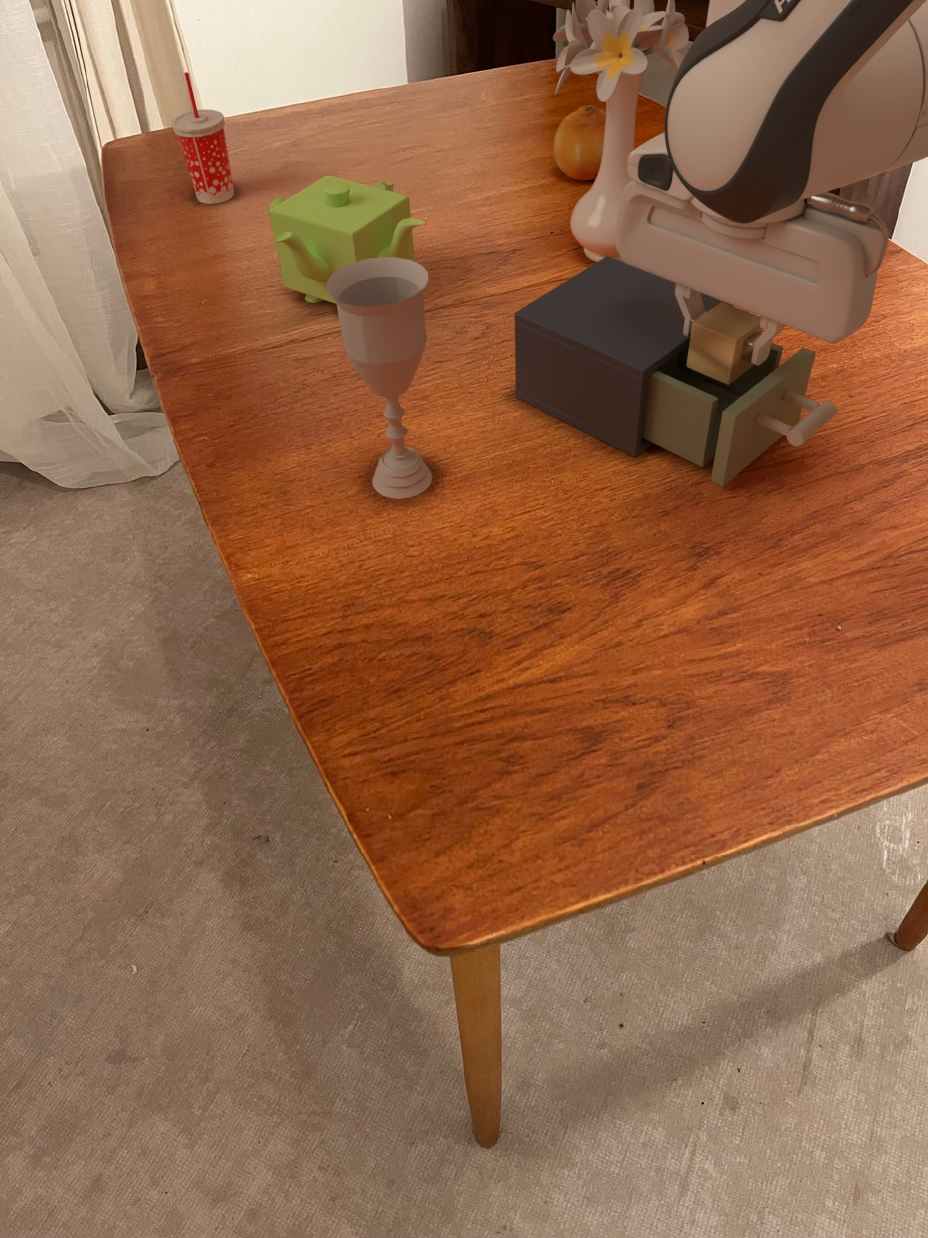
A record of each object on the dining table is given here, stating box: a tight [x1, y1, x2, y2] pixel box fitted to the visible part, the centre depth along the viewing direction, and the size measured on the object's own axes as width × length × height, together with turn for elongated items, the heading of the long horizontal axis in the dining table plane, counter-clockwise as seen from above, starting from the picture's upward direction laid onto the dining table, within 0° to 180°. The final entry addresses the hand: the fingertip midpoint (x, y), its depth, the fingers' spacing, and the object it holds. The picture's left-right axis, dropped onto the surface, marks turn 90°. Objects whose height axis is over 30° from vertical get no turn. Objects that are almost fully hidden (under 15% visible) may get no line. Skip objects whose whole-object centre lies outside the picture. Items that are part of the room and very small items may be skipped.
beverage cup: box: [171, 71, 235, 205], centre depth 116 cm, size 6×6×14 cm
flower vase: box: [552, 0, 690, 263], centre depth 98 cm, size 13×18×25 cm
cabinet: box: [514, 256, 733, 458], centre depth 86 cm, size 14×13×9 cm
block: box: [686, 302, 764, 385], centre depth 77 cm, size 4×4×4 cm
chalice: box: [327, 257, 433, 500], centre depth 76 cm, size 7×7×18 cm
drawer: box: [642, 342, 838, 488], centre depth 81 cm, size 17×11×7 cm
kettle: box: [266, 174, 425, 305], centre depth 100 cm, size 15×14×11 cm
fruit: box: [552, 104, 606, 181], centre depth 118 cm, size 8×8×8 cm
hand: (724, 347), depth 78 cm, fingers closed on block, 4 cm apart
